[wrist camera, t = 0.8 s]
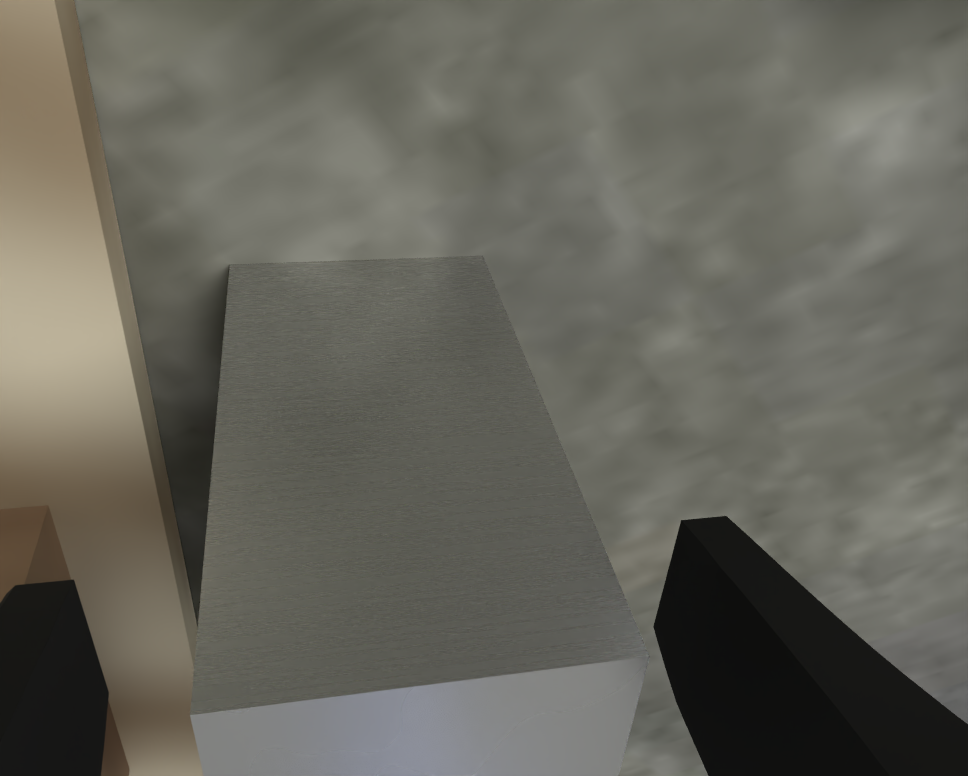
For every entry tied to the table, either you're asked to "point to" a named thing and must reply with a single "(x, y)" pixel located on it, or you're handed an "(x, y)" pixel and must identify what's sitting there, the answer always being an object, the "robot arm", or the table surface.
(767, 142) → the table surface
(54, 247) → the socket board
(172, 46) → the table surface
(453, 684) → the square peg
